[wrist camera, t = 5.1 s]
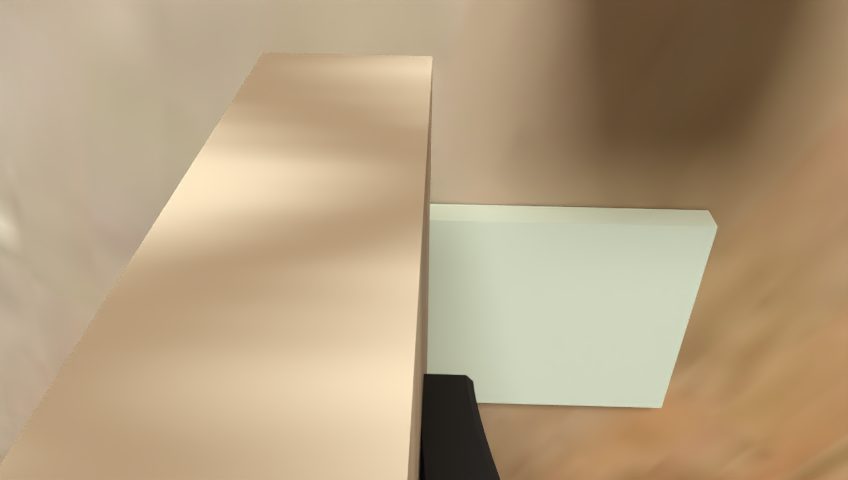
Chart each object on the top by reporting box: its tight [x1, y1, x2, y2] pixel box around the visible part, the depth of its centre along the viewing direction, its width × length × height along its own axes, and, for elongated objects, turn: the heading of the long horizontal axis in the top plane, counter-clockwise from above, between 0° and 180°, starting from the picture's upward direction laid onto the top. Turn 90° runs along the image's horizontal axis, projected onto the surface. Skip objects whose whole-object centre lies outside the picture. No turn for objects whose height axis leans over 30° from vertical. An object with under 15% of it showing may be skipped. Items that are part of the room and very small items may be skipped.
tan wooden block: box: [0, 53, 433, 480], centre depth 9 cm, size 2×9×8 cm, turn 179°
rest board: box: [427, 204, 718, 408], centre depth 20 cm, size 12×7×1 cm, turn 89°
